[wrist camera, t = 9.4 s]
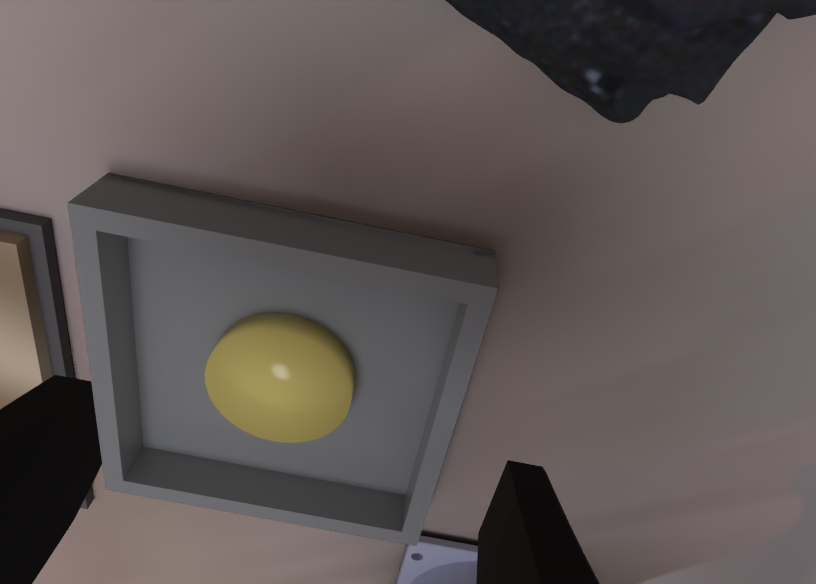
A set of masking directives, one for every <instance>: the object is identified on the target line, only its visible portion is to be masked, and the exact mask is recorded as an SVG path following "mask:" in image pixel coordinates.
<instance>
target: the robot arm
mask: <svg viewBox="0 0 816 584" xmlns="http://www.w3.org/2000/svg"><path fill="white" fill-rule="evenodd" d="M101 465H102V459H101V451H100V444H99V437H98V429H97V422H96V414H95V407H94V399H93V392H92V384H91V381H86V380H80V379H75V378H70V377H65V376H59V375H54V376H52V377H51V378H49V379H47V380H46V381H44V382H42V383H41V384H39V385H38V386H36V387H34V388H33V389H31V390H30V391H28V392H27V393H25V394H23V395H22V396H20V397H19V398H17V399H15V400H14V401H12V402H11V403H9V404H8V405H6V406H4V407H3V408H1V409H0V584H32V583H33V581H34V580H35V578H36V577H37V575H38V574H39V572H40V571H41V569H42V568H43V566H44V565H45V563H46V562H47V560H48V559H49V557H50V556H51V554H52V553H53V551H54V550H55V548H56V547H57V545H58V544H59V542H60V540H61V539H62V537H63V536H64V534H65V533H66V531H67V530H68V528H69V527H70V525H71V523H72V522H73V520H74V519H75V517H76V515H77V513H78V511H79V509H80V507H81V505H82V503H83V501H84V499H85V497H86V496H87V494H88V492H89V489H90V487H91V485H92V483H93V481H94V479H95V477H96V475H97V473H98V471H99V469H100V467H101ZM395 584H599V582H598V580H597V578H596V576H595V574H594V572H593V570H592V568H591V566H590V565H589V563H588V561H587V559H586V557H585V555H584V553H583V551H582V549H581V547H580V545H579V543H578V541H577V538H576V536H575V534H574V532H573V530H572V528H571V526H570V524H569V522H568V520H567V518H566V515H565V513H564V511H563V509H562V507H561V505H560V502H559V500H558V498H557V496H556V494H555V491H554V489H553V487H552V485H551V482H550V480H549V478H548V476H547V473H546V472H545V470H544V469H543V467H541V466H535V465H530V464H525V463H519V462H514V461H509V460H508V461H507V464H506V466H505V469H504V471H503V474H502V476H501V478H500V481H499V483H498V486H497V488H496V491H495V493H494V496H493V498H492V501H491V503H490V506H489V508H488V511H487V513H486V516H485V518H484V521H483V523H482V526H481V528H480V531H479V534H478V546H476V545H470V544H465V543H459V542H454V541H448V540H443V539H437V538H432V537H427V536H420V537H419V540H418V544H417V546H412V545H407V547H406V551H405V554H404V557H403V560H402V564H401V567H400V570H399V574H398V577H397V580H396V583H395Z"/></svg>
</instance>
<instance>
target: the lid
mask: <svg viewBox="0 0 816 584" xmlns="http://www.w3.org/2000/svg"><path fill="white" fill-rule="evenodd" d="M52 376H53V374H52V369H51V363H50V358H49V352H48V346H47V341H46V335H45V329H44V324H43V318H42V313H41V307H40V301H39V296H38V290H37V284H36V279H35V273H34V268H33V262H32V256H31V251H30V245H29V239H28V236H27V235H21V234H16V233H11V232H6V231H1V230H0V409H1V408H3V407H4V406H6V405H8V404H9V403H11V402H12V401H14V400H15V399H17V398H19V397H20V396H22V395H23V394H25V393H27V392H28V391H30V390H31V389H33V388H34V387H36V386H38V385H39V384H41V383H42V382H44V381H46V380H47V379H49V378H51V377H52Z"/></svg>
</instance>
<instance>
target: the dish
mask: <svg viewBox="0 0 816 584" xmlns="http://www.w3.org/2000/svg"><path fill="white" fill-rule="evenodd" d="M68 210H69V217H70V225H71V232H72V240H73V247H74V255H75V262H76V270H77V277H78V285H79V292H80V300H81V307H82V315H83V322H84V330H85V337H86V345H87V352H88V360H89V367H90V375H91V382H92V390H93V397H94V405H95V412H96V420H97V427H98V435H99V442H100V450H101V457H102V465H103V472H104V480H105V487H106V490H111V491H117V492H122V493H128V494H133V495H138V496H144V497H149V498H155V499H160V500H166V501H171V502H177V503H182V504H188V505H193V506H199V507H204V508H210V509H215V510H221V511H226V512H231V513H237V514H242V515H248V516H253V517H259V518H264V519H270V520H275V521H281V522H286V523H292V524H297V525H303V526H308V527H314V528H319V529H324V530H330V531H335V532H341V533H346V534H352V535H357V536H363V537H368V538H374V539H379V540H385V541H390V542H396V543H401V544H407V545H412V546H417V544H418V540H419V537H420V534H421V531H422V528H423V525H424V522H425V518H426V515H427V512H428V509H429V506H430V503H431V500H432V496H433V493H434V490H435V487H436V484H437V481H438V478H439V474H440V471H441V468H442V465H443V462H444V459H445V456H446V452H447V449H448V446H449V443H450V440H451V437H452V434H453V431H454V427H455V424H456V421H457V418H458V415H459V412H460V409H461V405H462V402H463V399H464V396H465V393H466V390H467V387H468V383H469V380H470V377H471V374H472V371H473V368H474V365H475V361H476V358H477V355H478V352H479V349H480V346H481V343H482V339H483V336H484V333H485V330H486V327H487V324H488V321H489V318H490V314H491V311H492V308H493V305H494V302H495V299H496V296H497V292H498V289H499V287H498V277H497V267H496V257H495V251H491V250H486V249H481V248H476V247H471V246H466V245H461V244H456V243H451V242H446V241H442V240H437V239H432V238H427V237H422V236H417V235H412V234H407V233H402V232H397V231H392V230H387V229H382V228H377V227H372V226H367V225H362V224H357V223H352V222H347V221H342V220H337V219H332V218H327V217H322V216H317V215H313V214H308V213H303V212H298V211H293V210H288V209H283V208H278V207H273V206H268V205H263V204H258V203H253V202H248V201H243V200H238V199H233V198H228V197H223V196H218V195H213V194H208V193H203V192H198V191H193V190H189V189H184V188H179V187H174V186H169V185H164V184H159V183H154V182H149V181H144V180H139V179H134V178H129V177H124V176H119V175H114V174H109V173H107V174H106V175H105V176H103V177H102V178H101V179H99V180H98V181H97V182H95V183H94V184H92V185H91V186H90V187H88V188H87V189H86V190H84V191H83V192H82V193H80V194H79V195H77V196H76V197H75V198H73V199H72V200H71V201H69V202H68Z"/></svg>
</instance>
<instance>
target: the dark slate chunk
mask: <svg viewBox="0 0 816 584" xmlns="http://www.w3.org/2000/svg"><path fill="white" fill-rule="evenodd" d="M445 1H447V2H448V3H450V4H451V5H452V6H453V7H454V8H455V9H456V10H457V11H459V12H460V13H461V14H462V15H464V16H465V17H466V18H468V19H470V20H471V21H473V22H474V23H476V24H477V25H479V26H480V27H482V28H484V29H485V30H487V31H489V32H490V33H492V34H494V35H495V36H497V37H498V38H500V39H501V40H502V41H503V42H504V43H505V44H507V45H508V46H509V47H510V48H511V49H512V50H513V51H514V52H516V53H517V54H518V55H520V56H521V57H523V58H525V59H527V60H529V61H531V62H533V63H534V64H535V65H536V66H537V67H538V68H539V69H540V70H541V71H542V72H543V73H545V74H546V75H547V76H548V77H549V78H550V79H551V80H552V81H553V82H554V83H555V84H556V85H558V86H559V87H560V88H562V89H563V90H565V91H566V92H568V93H570V94H572V95H574V96H576V97H578V98H580V99H582V100H583V101H585V102H586V103H587V104H589V105H590V106H591V107H592V108H593V109H594V110H596V111H597V112H598V113H599V114H600V115H602V116H603V117H605V118H606V119H608V120H610V121H613V122H616V123H625V122H630V121H632V120H634V119H635V118H637V117H638V116H639V115H640V114H641V112H642V111H643V110H644V108H645V107H646V106H647V105H648V104H649V103H650V102H651V101H652V100H653V99H658V98H661V97H664V96H666V95H667V94H669V93H670V94H674V95H678V96H681V97H684V98H687V99H689V100H691V101H693V102H694V103H696V104H698V105H699V104H701V103H702V102H704V101H705V99H706V98H707V97H708V96H709V94H710V93H711V92H712V90H713V89H714V87H715V86H716V85H717V83H718V82H719V80H720V79H721V78H722V76H723V75H724V74H725V72H726V71H727V70H728V68H729V67H730V66H731V64H732V63H733V62H734V61H735V60H736V59H737V57H738V56H739V55H740V54H741V53H742V52H743V51H744V50H745V49H746V48H747V47H748V46H749V45H750V44H751V43H752V42H753V40H754V39H755V38H756V37H757V36H758V35H759V34H760V32H761V31H762V30H763V29H764V28H765V27H766V26H767V24H768V23H769V22H770V21H771V19H772V18H773V17H774V16H775V14H776V13H777V12H778V13H780V14H781V15H783V16H784V17H786V18H787V19H796V18H802V17H806V16H811V15H815V14H816V0H445Z"/></svg>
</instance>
